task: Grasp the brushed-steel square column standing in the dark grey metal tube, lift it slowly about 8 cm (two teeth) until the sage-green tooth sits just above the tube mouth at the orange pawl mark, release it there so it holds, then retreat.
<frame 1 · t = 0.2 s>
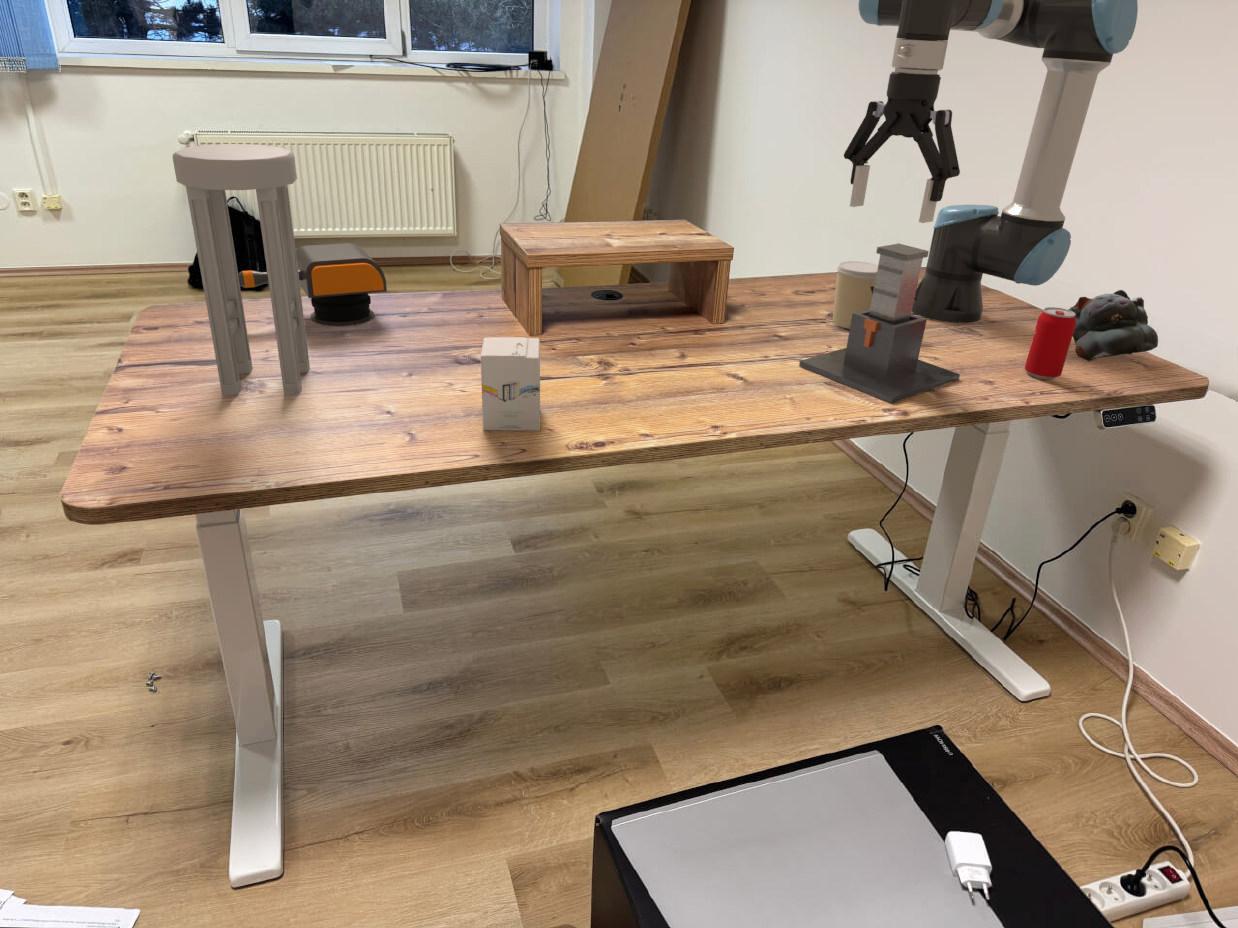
hand: (890, 213, 142), 28 cm above the table, fingers open, 13 cm apart
ink box: (511, 420, 131), on the table
beverage can: (1041, 375, 159), on the table
stand base: (878, 372, 156), on the table
lucky cat figurine: (1101, 356, 171), on the table
stool: (268, 382, 139), on the table
coffee cup: (851, 324, 181), on the table
sander: (316, 320, 167), on the table
column: (878, 372, 156), resting on stand base, slide at 0.0 cm
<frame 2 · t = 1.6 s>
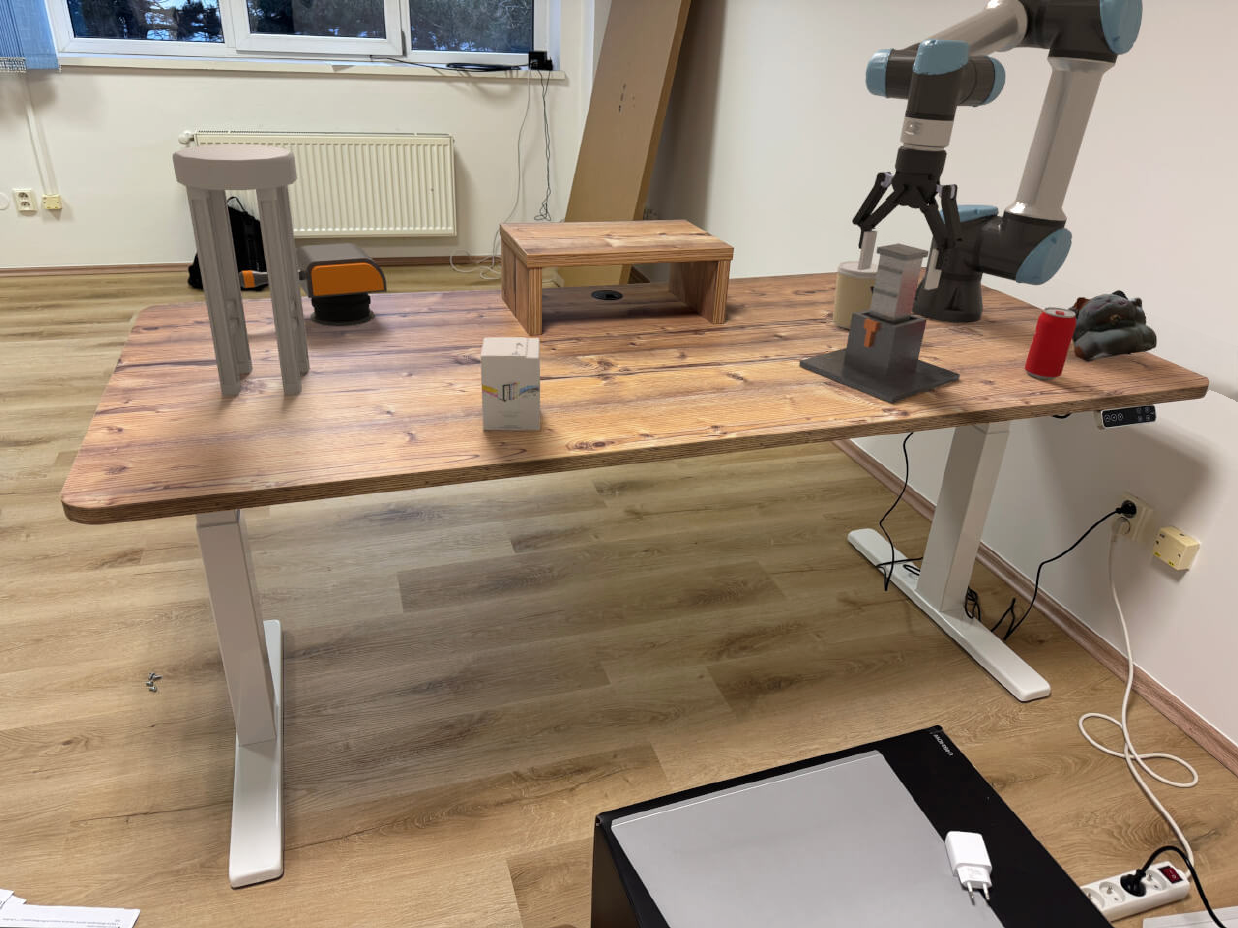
hand: (896, 278, 148), 17 cm above the table, fingers open, 13 cm apart
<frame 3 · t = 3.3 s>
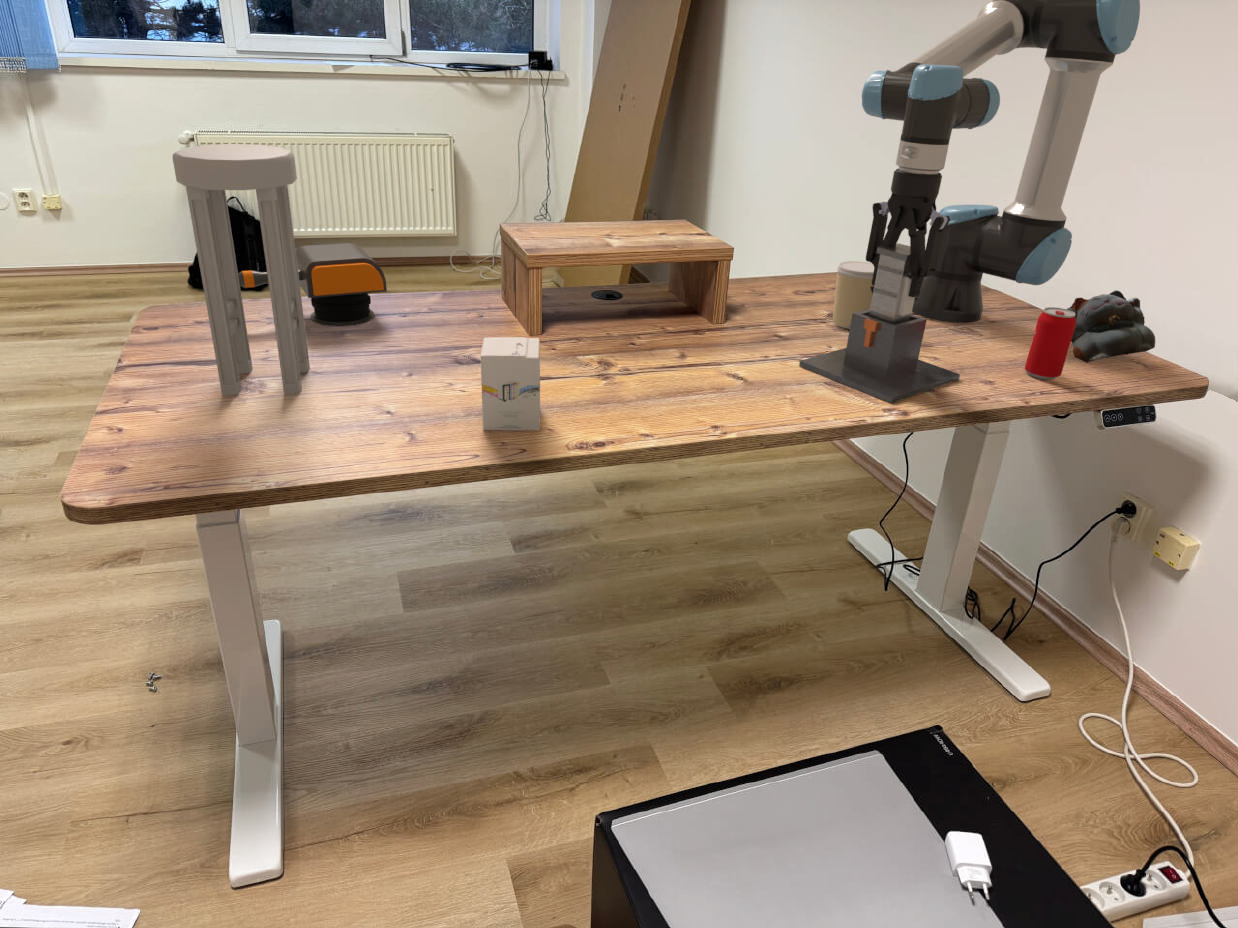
hand: (890, 309, 151), 12 cm above the table, fingers closed on column, 5 cm apart
column: (878, 372, 156), resting on stand base, slide at 0.0 cm, touching gripper
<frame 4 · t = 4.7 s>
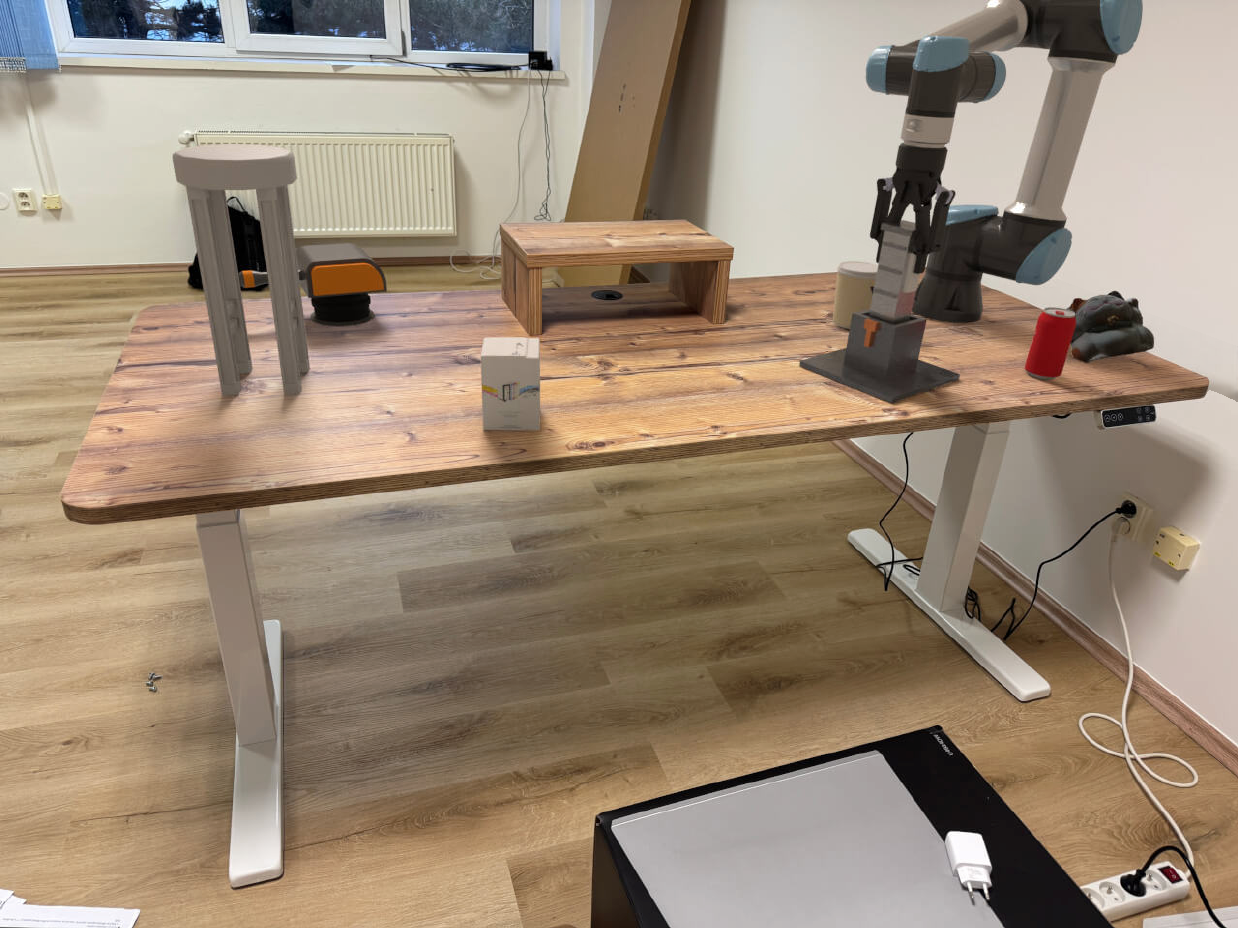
hand: (895, 287, 149), 16 cm above the table, fingers closed on column, 5 cm apart
column: (882, 351, 154), point 4 cm above the table, slide at 4.0 cm, touching gripper
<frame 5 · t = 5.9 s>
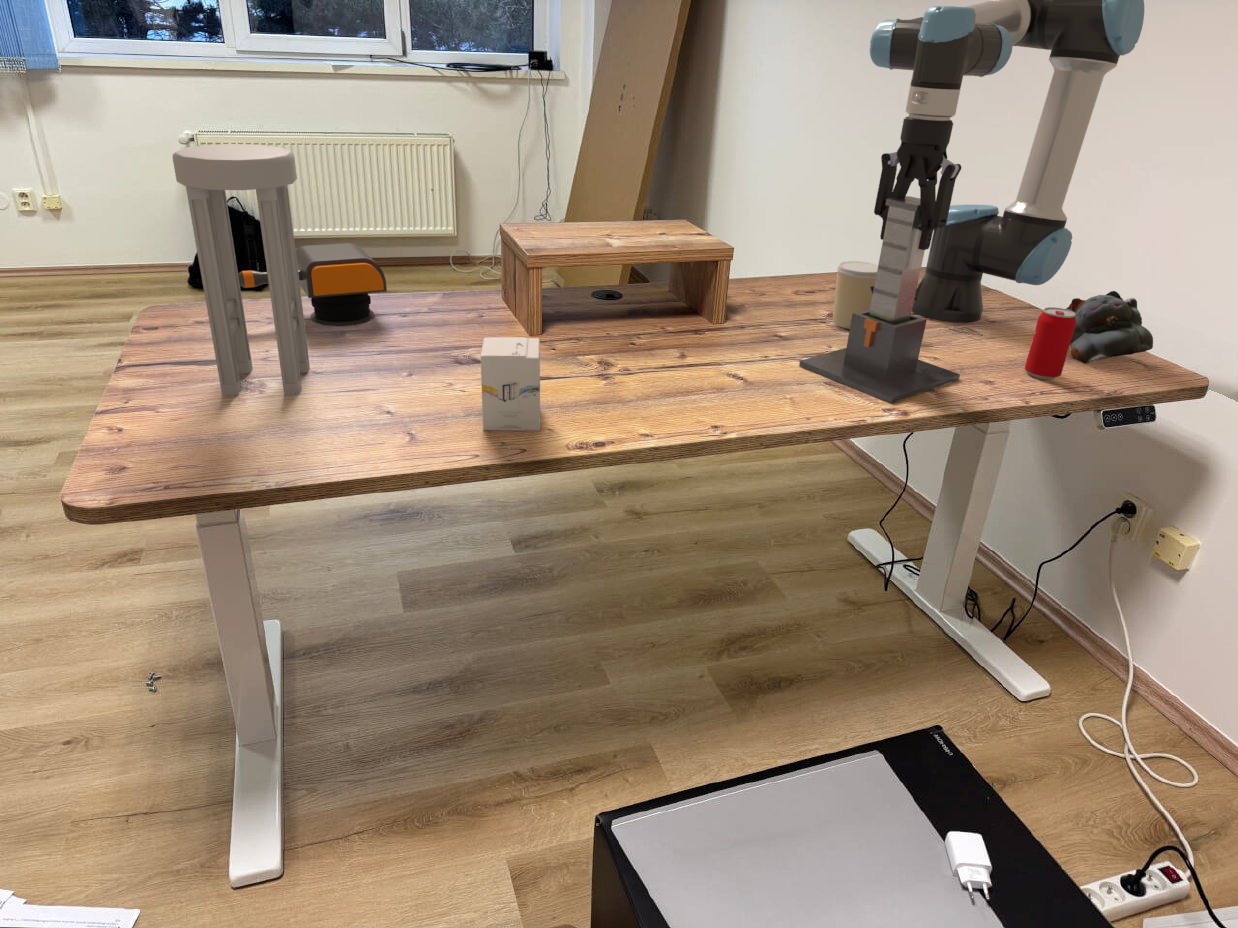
hand: (900, 263, 147), 20 cm above the table, fingers closed on column, 5 cm apart
column: (886, 330, 152), point 8 cm above the table, slide at 7.9 cm, touching gripper
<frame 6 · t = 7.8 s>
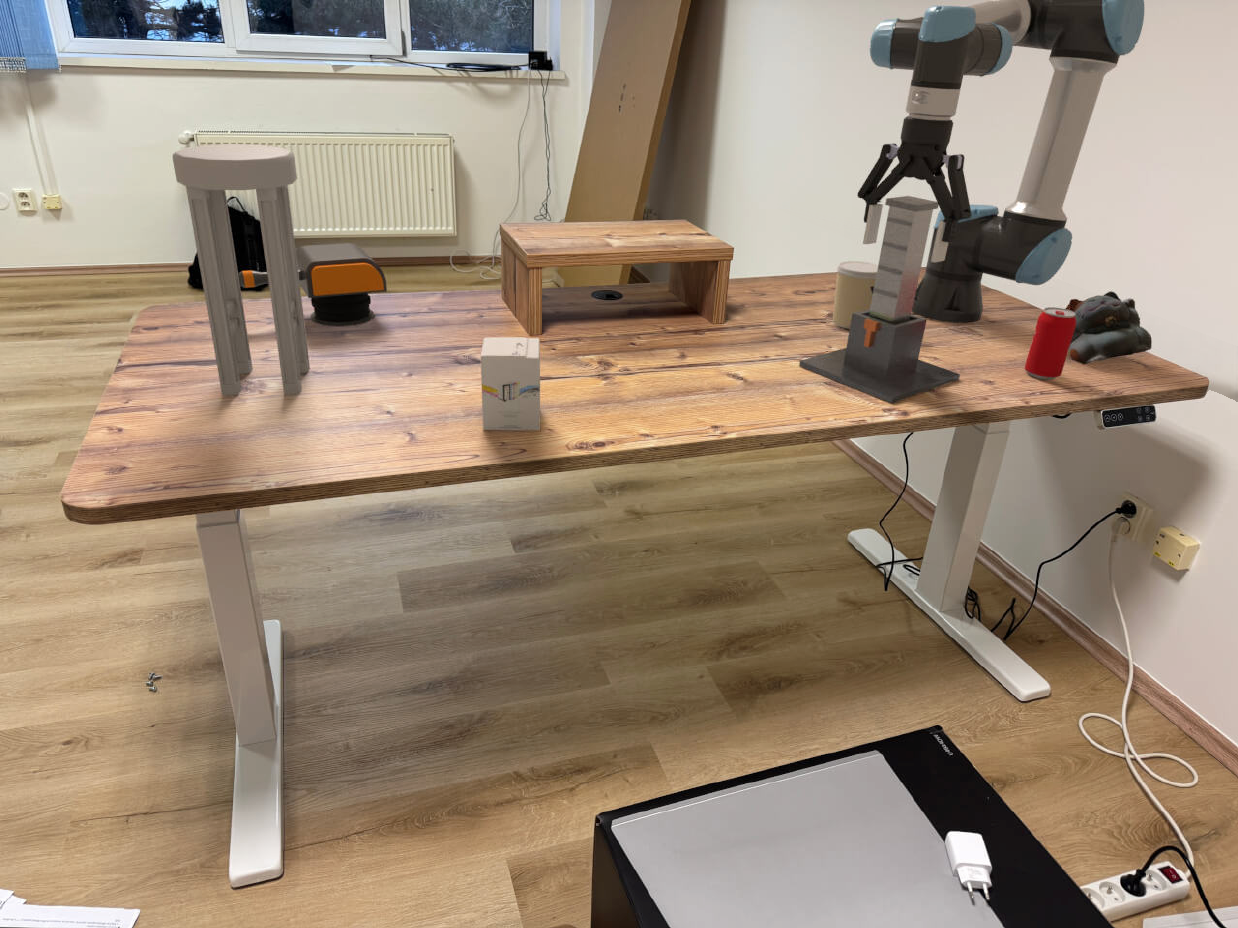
hand: (902, 252, 146), 22 cm above the table, fingers open, 13 cm apart
column: (886, 330, 152), point 8 cm above the table, slide at 8.0 cm
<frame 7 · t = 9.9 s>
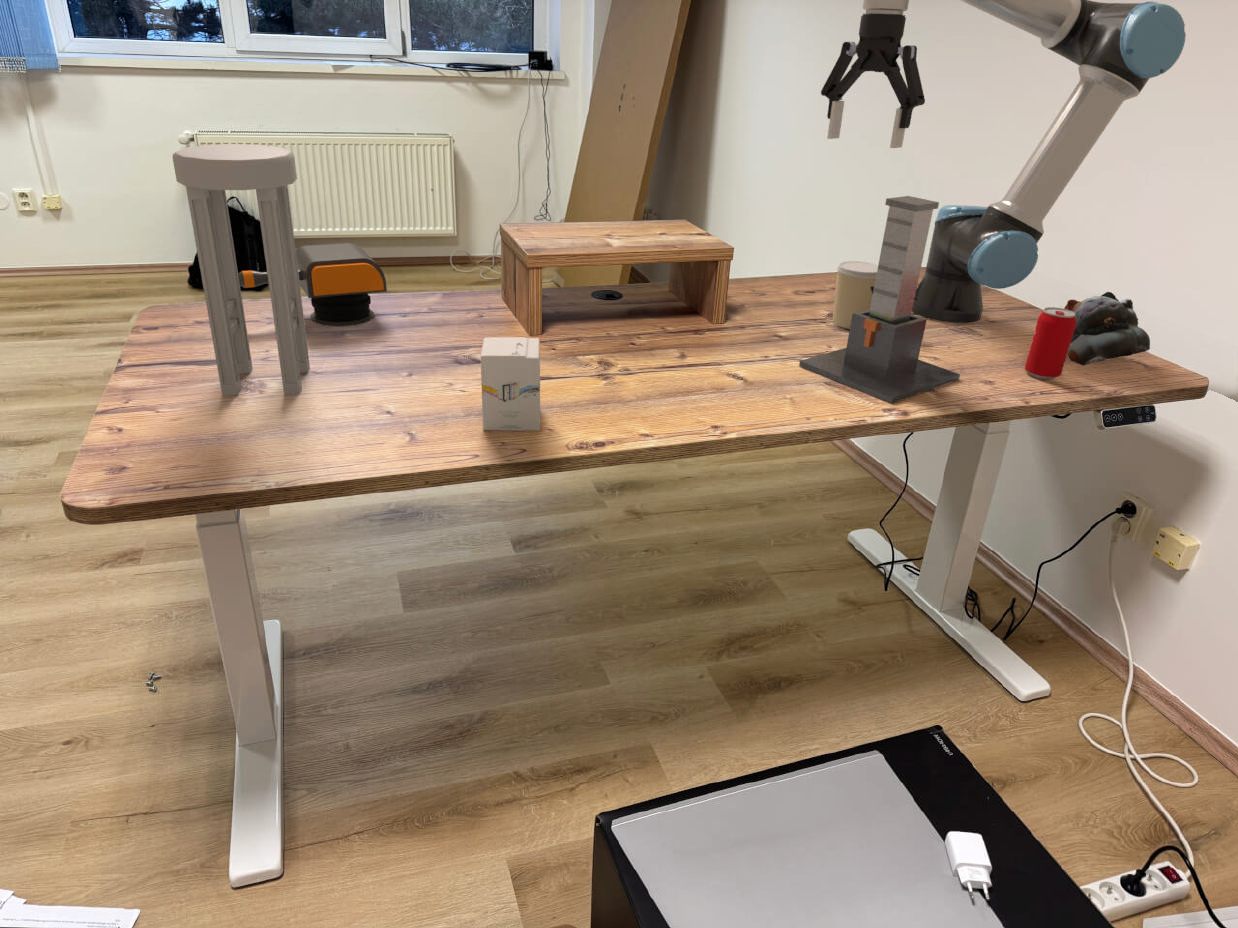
hand: (863, 143, 160), 36 cm above the table, fingers open, 13 cm apart
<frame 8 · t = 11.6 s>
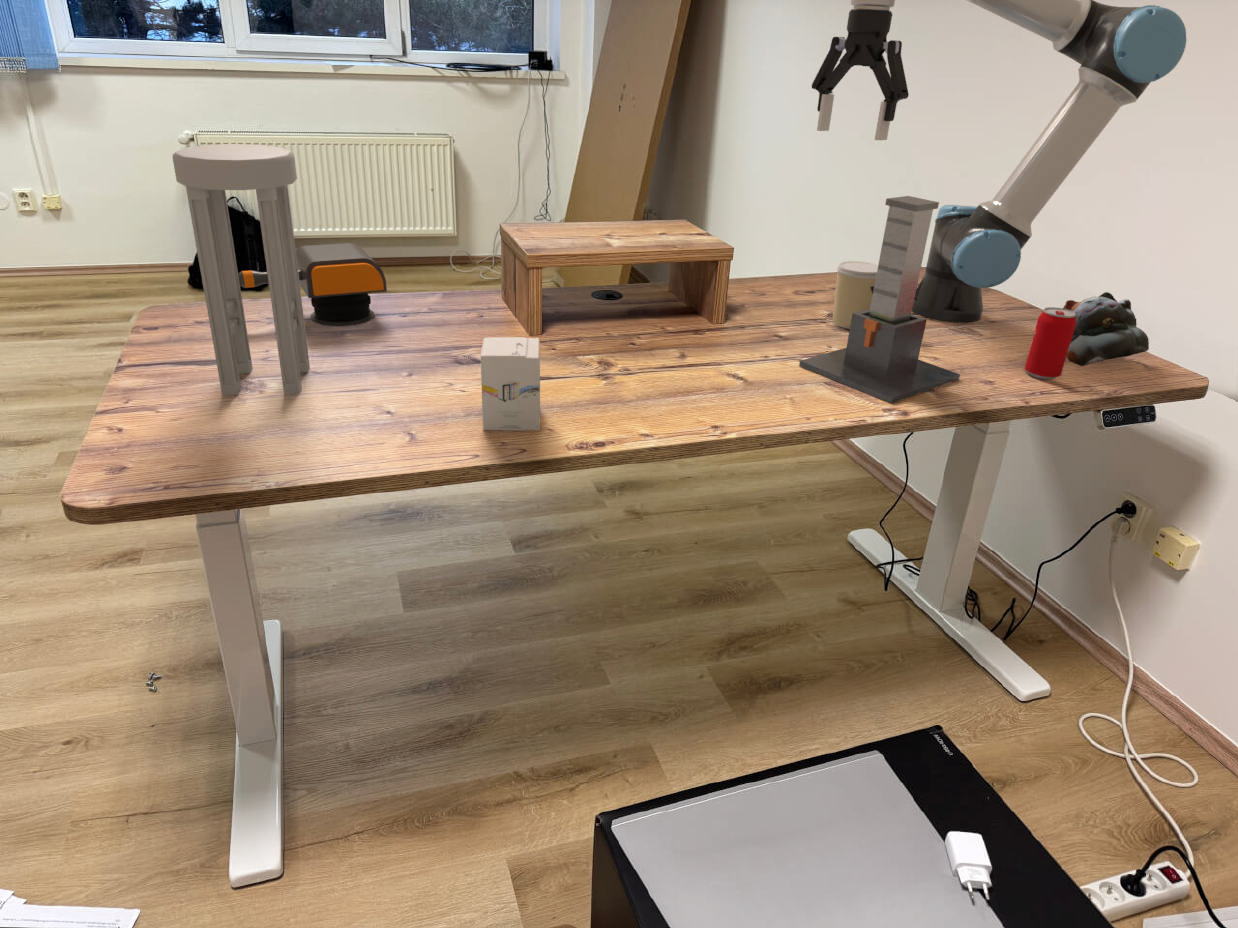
hand: (850, 135, 164), 37 cm above the table, fingers open, 13 cm apart
at the end: column slide at 8.0 cm; the gripper is holding nothing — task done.
